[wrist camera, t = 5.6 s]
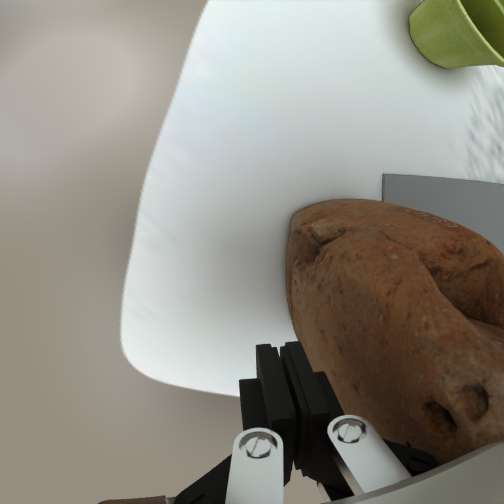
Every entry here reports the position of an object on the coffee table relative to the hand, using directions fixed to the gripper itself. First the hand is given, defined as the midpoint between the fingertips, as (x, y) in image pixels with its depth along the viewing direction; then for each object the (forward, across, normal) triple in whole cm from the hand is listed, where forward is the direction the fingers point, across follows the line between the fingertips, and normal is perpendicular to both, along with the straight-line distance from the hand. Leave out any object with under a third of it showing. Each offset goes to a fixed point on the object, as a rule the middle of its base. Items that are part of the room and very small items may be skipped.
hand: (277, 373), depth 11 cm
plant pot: (+12, -17, -20) cm, 29 cm away
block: (+12, -6, 0) cm, 13 cm away
